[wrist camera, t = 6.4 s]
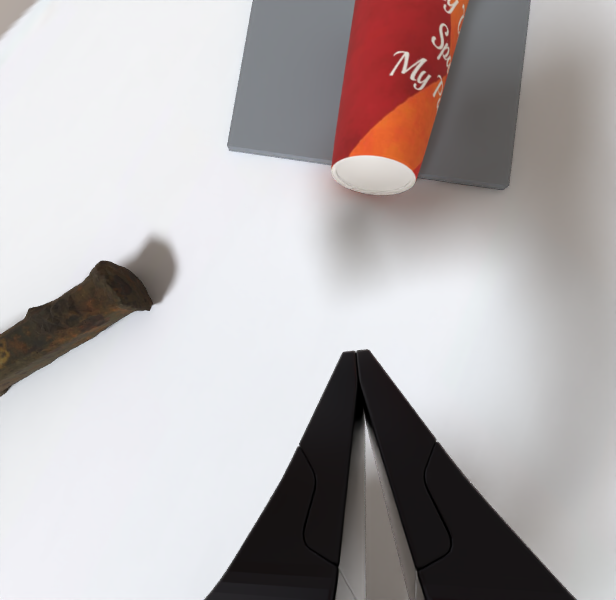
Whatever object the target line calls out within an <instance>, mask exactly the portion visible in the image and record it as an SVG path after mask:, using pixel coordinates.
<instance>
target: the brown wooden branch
mask: <svg viewBox="0 0 616 600" xmlns="http://www.w3.org/2000/svg"><path fill="white" fill-rule="evenodd" d="M152 304H153V302H152V300H151V299H150V297H149V295H148V293H147V290H146V288H145V287H144V285H143V284H142V282H141V281H140V280H139V279H138V278H137V277H136V276H135V275H134V274H133V273H132V272H131V271H130V270H128V269H126V268H124V267H121V266H118V265H116V264H114V263H112V262H109V261H100V262H99V263H98V264H96V266H95V267H94V268H93V269H92V271H91V272H90V275H89V276H88V277H87V278H86V279H85V280H84V281H83V282H82V283H80V284H79V285H77V286H75V287H74V288H72V289H71V290H69V291H68V292H66V293H64V295H62V296H61V297H59V298H58V299H56V300H54V301H51V302H49V303H46V304H44V305H41V306H38V307H33V308H29V310H28V312H27V314H26V317H25V319H24V320H22V321H20V322H18V323H17V324H16V325H14V326H13V327H11V328H9V329H8V330H6V331H5V332H3V333H2V334H0V396H2V395H3V394H5V393H6V392H7V391H8V387H9V386H11V385H13V384H15V383H16V382H18V381H20V380H22V379H24V378H25V377H27V376H29V375H30V374H32V373H33V372H35V371H37V370H39V369H41V368H43V367H45V366H46V365H48V364H50V363H52V362H53V361H54V360H55V359H57V358H58V357H60V356H61V355H63V354H65V353H67V352H68V351H70V350H71V349H73V348H76V347H78V346H79V345H81V344H82V343H84V342H86V341H88V340H90V339H92V338H94V337H95V336H97V335H98V334H99V333H100V332H101V331H103V330H105V329H106V328H107V327H109V326H110V325H112V324H113V323H115V322H117V321H118V320H120V319H121V318H123V317H125V316H127V315H128V314H130V313H132V312H134V311H144V310H147V311H150V309H151V306H152Z"/></svg>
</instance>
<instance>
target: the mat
mask: <svg viewBox="0 0 616 600" xmlns="http://www.w3.org/2000/svg"><path fill="white" fill-rule="evenodd" d="M530 2H531V0H469V2H468V5H467V9H466V12H465V16H464V19H463V23H462V26H461V30H460V33H459V37H458V40H457V44H456V48H455V51H454V55H453V58H452V62H451V65H450V69H449V72H448V76H447V79H446V83H445V86H444V89H443V93H442V96H441V100H440V103H439V107H438V110H437V114H436V117H435V121H434V124H433V127H432V131H431V134H430V138H429V141H428V145H427V148H426V151H425V155H424V158H423V161H422V164H421V168H420V171H419V174H418V177H417V178H424V179H431V180H438V181H445V182H452V183H459V184H466V185H473V186H480V187H487V188H494V189H501V190H503V189H505V188H506V187H508V186H509V181H510V172H511V164H512V155H513V147H514V138H515V130H516V121H517V112H518V104H519V95H520V87H521V78H522V70H523V61H524V53H525V44H526V36H527V27H528V19H529V10H530ZM354 5H355V0H253V2H252V8H251V14H250V19H249V25H248V31H247V36H246V42H245V47H244V53H243V59H242V64H241V70H240V76H239V81H238V87H237V93H236V98H235V104H234V110H233V115H232V121H231V126H230V132H229V138H228V143H227V146H228V148H229V150H230V151H236V152H243V153H250V154H257V155H264V156H271V157H278V158H285V159H292V160H299V161H306V162H313V163H320V164H327V165H332V156H333V149H334V141H335V134H336V127H337V120H338V113H339V106H340V99H341V92H342V85H343V78H344V72H345V65H346V58H347V52H348V45H349V38H350V32H351V25H352V18H353V12H354Z"/></svg>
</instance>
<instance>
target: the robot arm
mask: <svg viewBox="0 0 616 600" xmlns="http://www.w3.org/2000/svg"><path fill="white" fill-rule="evenodd" d="M364 414H365V417H364ZM365 420H366V425H367V429H368V433H369V437H370V441H371V446H372V450H373V454H374V458H375V462H376V466H377V470H378V474H379V478H380V482H381V486H382V490H383V494H384V498H385V502H386V506H387V510H388V514H389V518H390V522H391V526H392V530H393V534H394V539H395V543H396V547H397V551H398V555H399V559H400V563H401V567H402V571H403V575H404V579H405V583H406V587H407V591H408V595H409V599H410V600H577V599H576V598H575V597H574V596H573V595H572V594H571V593H570V592H569V591H568V590H567V589H566V588H565V587H564V586H563V585H562V584H561V582H560V581H559V580H558V579H557V578H556V577H555V576H554V575H553V574H552V573H551V572H550V570H549V569H548V568H547V567H546V566H545V565H544V564H543V563H542V562H541V561H540V559H539V558H538V557H537V556H536V555H535V554H534V553H533V552H532V551H531V550H530V548H529V547H528V546H527V545H526V544H525V543H524V542H523V541H522V540H521V539H520V537H519V536H518V535H517V534H516V533H515V532H514V531H513V530H512V529H511V528H510V526H509V525H508V524H507V523H506V522H505V521H504V520H503V519H502V518H501V517H500V515H499V514H498V513H497V512H496V511H495V510H494V509H493V508H492V507H491V506H490V504H489V503H488V502H487V501H486V500H485V499H484V497H483V496H482V495H481V494H480V493H479V492H478V491H477V489H476V488H475V487H474V486H473V485H472V484H471V483H470V481H469V480H468V479H467V478H466V477H465V475H464V474H463V473H462V472H461V470H460V469H459V468H458V467H457V465H456V464H455V463H454V461H453V460H452V459H451V458H450V456H449V455H448V454H447V452H446V451H445V450H444V448H443V447H442V446H441V444H440V443H439V442H436V438H435V437H434V435H433V434H432V433H431V431H430V430H429V429H428V427H427V426H426V425H425V423H424V422H423V421H422V419H421V418H420V417H419V415H418V414H417V413H416V411H415V410H414V409H413V407H412V406H411V405H410V403H409V402H408V401H407V399H406V398H405V397H404V395H403V394H402V393H401V391H400V390H399V389H398V387H397V386H396V385H395V383H394V382H393V381H392V379H391V378H390V377H389V375H388V374H387V373H386V371H385V370H384V369H383V367H382V366H381V365H380V363H379V362H378V361H377V359H376V358H375V357H374V356H373V354H372V353H371V352H370V350H368V349H366V350H357V351H356V352H355V351H346V352H343V353H342V355H341V357H340V359H339V361H338V363H337V365H336V367H335V369H334V371H333V374H332V376H331V378H330V380H329V382H328V384H327V386H326V388H325V390H324V392H323V395H322V397H321V399H320V401H319V403H318V405H317V407H316V409H315V411H314V414H313V416H312V418H311V420H310V422H309V424H308V426H307V428H306V430H305V432H304V435H303V437H302V439H301V441H300V443H299V446H298V447H297V449H296V451H295V453H294V455H293V458H292V460H291V462H290V464H289V466H288V467H287V469H286V471H285V473H284V475H283V477H282V479H281V481H280V483H279V485H278V486H277V488H276V490H275V491H274V493H273V495H272V497H271V498H270V500H269V502H268V504H267V505H266V507H265V508H264V510H263V512H262V513H261V515H260V517H259V518H258V520H257V522H256V523H255V525H254V527H253V528H252V530H251V531H250V533H249V535H248V536H247V538H246V540H245V541H244V543H243V545H242V546H241V548H240V550H239V551H238V553H237V554H236V556H235V558H234V559H233V561H232V563H231V564H230V566H229V567H228V569H227V570H226V572H225V573H224V575H223V576H222V578H221V579H220V581H219V582H218V583H217V585H216V586H215V587H214V588H213V590H212V591H211V592H210V593H209V595H208V596H207V597H206V598H205V599H204V600H366V521H365Z"/></svg>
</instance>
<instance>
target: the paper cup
mask: <svg viewBox="0 0 616 600" xmlns="http://www.w3.org/2000/svg"><path fill="white" fill-rule="evenodd" d="M468 2H469V0H355V5H354V12H353V18H352V25H351V32H350V38H349V45H348V52H347V58H346V65H345V72H344V78H343V85H342V92H341V99H340V106H339V113H338V120H337V127H336V134H335V141H334V149H333V156H332V166H331V173H332V176H333V178H334V179H335V180H336V181H337V182H338V183H339V184H341V185H342V186H344V187H346V188H348V189H351V190H353V191H357V192H360V193H365V194H372V195H391V194H397V193H401V192H404V191H406V190H408V189H410V188H411V187H412V186H413V185H414V184H415V182H416V179H417V177H418V174H419V171H420V168H421V164H422V161H423V158H424V155H425V151H426V148H427V145H428V141H429V138H430V134H431V131H432V127H433V124H434V121H435V117H436V114H437V110H438V107H439V103H440V100H441V96H442V93H443V89H444V86H445V83H446V79H447V76H448V72H449V69H450V65H451V62H452V58H453V55H454V51H455V48H456V44H457V40H458V37H459V33H460V30H461V26H462V23H463V19H464V16H465V12H466V9H467V5H468Z"/></svg>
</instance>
